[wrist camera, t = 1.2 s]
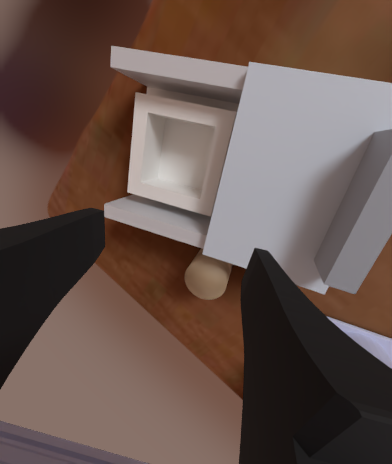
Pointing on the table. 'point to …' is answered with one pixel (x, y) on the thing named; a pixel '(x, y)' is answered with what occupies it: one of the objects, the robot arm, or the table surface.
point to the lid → (307, 176)
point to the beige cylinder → (207, 276)
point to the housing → (176, 141)
